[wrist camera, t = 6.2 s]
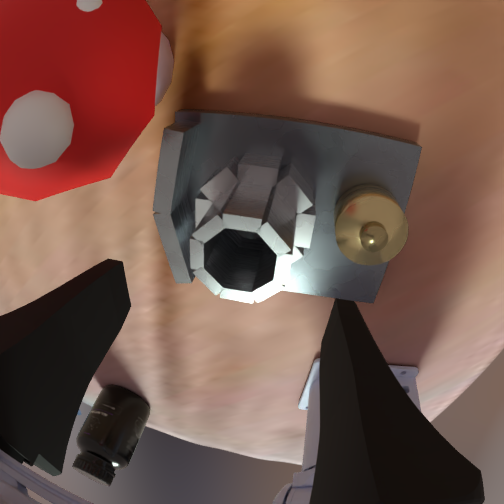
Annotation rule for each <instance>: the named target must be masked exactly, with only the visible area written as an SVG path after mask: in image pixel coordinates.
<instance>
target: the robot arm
mask: <svg viewBox="0 0 504 504" xmlns="http://www.w3.org/2000/svg"><path fill="white" fill-rule="evenodd" d="M130 307H131V302H130V298H129V293H128V288H127V282H126V277H125V271H124V266H123V262H122V261H117V260H112V259H107V260H105V261H103V262H101V263H99V264H97V265H95V266H94V267H92V268H90V269H88V270H87V271H85V272H83V273H82V274H80V275H78V276H77V277H75V278H73V279H71V280H70V281H68V282H66V283H65V284H63V285H61V286H60V287H58V288H56V289H54V290H53V291H51V292H49V293H47V294H45V295H44V296H42V297H40V298H38V299H37V300H35V301H33V302H31V303H29V304H27V305H25V306H23V307H20V308H18V309H16V310H14V311H12V312H9V313H7V314H4V315H2V316H0V504H41V503H39V502H37V501H36V500H34V499H32V498H31V497H29V495H28V493H27V489H26V487H27V488H28V489H30V490H32V491H33V492H35V493H36V494H38V495H39V496H41V497H43V498H44V499H46V500H48V501H49V502H51V503H53V504H93V503H91V502H89V501H87V500H85V499H82V498H80V497H78V496H76V495H74V494H72V493H71V492H68V491H67V490H65V489H63V488H61V487H59V486H57V485H56V484H54V483H52V482H50V481H48V480H47V479H45V478H43V477H42V476H40V475H38V474H36V473H35V472H33V471H32V470H30V469H29V468H27V467H25V466H24V465H22V463H23V461H24V462H25V463H27V464H29V465H30V466H33V465H35V466H37V467H39V468H40V469H42V470H44V471H45V472H47V473H49V474H51V475H52V476H56V475H60V474H61V473H62V469H63V463H64V459H65V454H66V449H67V445H68V441H69V438H70V434H71V431H72V428H73V424H74V421H75V418H76V416H77V413H78V410H79V407H80V404H81V402H82V399H83V397H84V395H85V392H86V390H87V387H88V385H89V383H90V381H91V379H92V377H93V375H94V373H95V372H96V370H97V368H98V367H99V365H100V363H101V362H102V360H103V358H104V357H105V355H106V353H107V352H108V350H109V348H110V347H111V345H112V343H113V342H114V340H115V338H116V337H117V335H118V333H119V332H120V330H121V328H122V326H123V323H124V321H125V319H126V317H127V314H128V312H129V310H130ZM418 372H419V371H418V368H417V367H408V366H394V365H388V364H387V362H386V360H385V359H384V357H383V355H382V353H381V352H380V350H379V348H378V346H377V344H376V342H375V341H374V339H373V337H372V335H371V333H370V331H369V329H368V327H367V325H366V323H365V321H364V319H363V317H362V315H361V313H360V311H359V309H358V307H357V305H356V303H355V302H354V301H352V300H345V299H338V298H336V299H335V302H334V305H333V308H332V311H331V315H330V318H329V321H328V324H327V327H326V330H325V333H324V336H323V339H322V343H321V354H320V358H317V359H315V360H314V363H313V366H312V368H311V371H310V374H309V377H308V379H307V382H306V385H305V388H304V390H303V393H302V396H301V398H300V401H299V403H298V408H299V409H303V410H308V411H307V423H306V434H305V444H304V454H303V463H302V472H298V473H294V476H293V483H289V484H286V485H285V486H284V487H283V488H282V489H281V490H280V492H279V493H278V494H277V495H276V497H275V499H274V501H273V504H482V503H483V502H484V500H485V497H484V488H483V481H482V475H481V471H480V470H479V469H478V468H477V467H475V466H474V465H473V464H472V463H471V462H470V461H468V460H467V459H466V458H465V457H464V456H463V455H461V454H460V453H459V452H458V451H457V450H455V448H454V447H453V446H452V445H451V444H450V443H449V442H448V441H446V439H445V438H444V437H443V436H442V435H441V434H439V432H438V431H437V430H436V429H435V428H434V427H433V425H432V424H431V423H430V422H429V421H428V420H427V419H426V417H425V416H424V415H423V414H422V413H421V408H420V402H419V396H418V390H417V385H416V379H415V377H416V376H417V374H418Z"/></svg>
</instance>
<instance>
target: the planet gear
mask: <svg viewBox="0 0 504 504" xmlns="http://www.w3.org/2000/svg"><path fill="white" fill-rule="evenodd" d="M281 160H282V157H275V156H268V155H260V154H252V153H246V154H245V155H244V156H243V158H242V159H241V161H240V160H239V159H238V158H237V156H235V157H234V158H232V159H231V160H230V161H229V162H227V163H226V164H225V165H224V166H223V167H221V168H220V169H219V170H218V171H216V172H215V173H214V174H213V175H212V176H211V177H210V178H209V179H208V180H207V181H206V182H205V184H204V185H203V186H202V187H201V188H200V190H201V192H200V194H199V195H198V196H197V197H196V198H195V221H196V229H195V230H194V232H193V233H192V236H191V238H190V265H191V269H194V271H193V274H194V275H195V276H196V277H197V278H198V279H199V280H200V281H201V282H203V283H204V284H205V285H206V286H207V287H208V288H209V289H210V290H211V291H212V292H213V293H214V294H215V295H217V294H219V293H220V298H225V299H230V300H236V301H242V302H248V303H253V301H254V300H255V301H256V302H257V303H258V302H260V301H262V300H264V299H266V298H267V297H269V296H271V295H273V294H275V293H277V292H279V291H280V290H282V289H284V288H285V284H286V285H287V283H288V278H289V272H290V267H291V263H293V262H295V261H296V260H298V259H300V258H301V257H303V256H304V248H310V243H311V238H312V233H313V227H314V222H315V217H316V203H315V200H314V199H313V189H312V188H311V187H310V186H309V184H308V183H307V182H306V180H305V179H304V178H303V177H302V175H301V174H300V173H299V172H298V170H297V169H296V168H295V167H294V165H293V164H292V163H291V164H289V165H288V166H286V167H285V168H284V169H282V170H281V171H280V168H281ZM236 230H243V231H250V232H256V233H258V234H259V235H260V236H261V237H259V238H256V239H248V238H245V237H243V236H241V235H240V234H239V233H238V232H237V231H236Z"/></svg>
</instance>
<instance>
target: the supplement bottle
mask: <svg viewBox="0 0 504 504" xmlns="http://www.w3.org/2000/svg"><path fill="white" fill-rule="evenodd" d="M149 415H150V409H149V406H148V405H147V403H146V402H145V401H144V400H143V399H141V398H140V397H139V396H138V395H136V394H134V393H133V392H131V391H129V390H127V389H125V388H122V387H119V386H115V385H108V386H105V387H104V388H103V389H102V391H101V392H100V394H99V396H98V398H97V399H96V401H95V403H94V405H93V407H92V409H91V411H90V412H89V414H88V416H87V418H86V420H85V422H84V424H83V426H82V428H81V430H80V432H79V433H78V436H77V438H76V442H77V446H78V448H79V449H80V451H81V453H80V454H77V456H76V459H75V461H74V463H73V466H72V467H73V468H74V469H75V470H77V471H78V472H79V473H81V474H82V475H84V476H86V477H88V478H89V479H91V480H93V481H95V482H98V483H100V484H103V485H105V486H110V485H111V483H112V480H113V478H114V477H115V475H116V474H115V473H114V471H115V470H120V469H124V468H126V467H127V466H128V464H129V462H130V460H131V458H132V455H133V453H134V451H135V448H136V446H137V444H138V441H139V439H140V436H141V434H142V432H143V429H144V427H145V425H146V422H147V420H148V418H149Z"/></svg>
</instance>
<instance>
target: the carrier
mask: <svg viewBox="0 0 504 504" xmlns="http://www.w3.org/2000/svg"><path fill="white" fill-rule="evenodd" d="M421 148H422V147H421V146H420V145H418V144H417V143H415V142H412V141H408V140H404V139H400V138H395V137H391V136H387V135H383V134H378V133H374V132H369V131H364V130H359V129H354V128H349V127H344V126H338V125H333V124H327V123H321V122H314V121H308V120H301V119H294V118H287V117H279V116H270V115H261V114H251V113H240V112H228V111H213V110H193V109H181V110H178V111H176V112H175V123H174V124H172V125H170V126H168V127H166V128H164V131H163V137H162V144H161V150H160V157H159V164H158V171H157V179H156V187H155V195H154V204H153V211H155V213H154V214H153V216H154V219H155V222H156V225H157V228H158V232H159V235H160V238H161V241H162V244H163V247H164V250H165V253H166V256H167V259H168V262H169V265H170V267H171V270H172V273H173V276H174V279H175V282H176V283H192V281H193V279H194V277H195V275H194V274H193V271H194V269H191V265H190V238H191V236H192V233H193V232H194V230H195V229H196V221H195V198H196V197H197V196H198V195H199V194H200V192H201V190H200V188H201V187H202V186H203V185H204V184H205V182H206V181H207V180H208V179H209V178H210V177H211V176H212V175H213V174H214V173H215V172H216V171H218V170H219V169H220V168H221V167H223V166H224V165H225V164H226V163H227V162H229V161H230V160H231V159H232V158H234V157H235V156H237V158H238V159H239V160H240V161H241V159H242V158H243V156H244V155H245V154H246V153H252V154H260V155H268V156H275V157H282V160H281V168H280V171H281V170H282V169H284V168H285V167H286V166H288V165H289V164H291V163H292V164H293V165H294V167H295V168H296V169H297V170H298V172H299V173H300V174H301V175H302V177H303V178H304V179H305V180H306V182H307V183H308V184H309V186H310V187H311V188H312V189H313V199H314V200H315V203H316V217H315V222H314V227H313V233H312V238H311V243H310V248H304V256H303V257H301V258H300V259H298V260H296V261H295V262H293V263H291V267H290V272H289V278H288V283H287V285H286V284H285V288H284V289H282V290H285V291H291V292H298V293H304V294H311V295H318V296H324V297H331V298H338V299H345V300H352V301H359V302H366V303H374V300H375V298H376V295H377V292H378V290H379V287H380V284H381V282H382V279H383V276H384V274H385V271H386V268H387V265H388V262H389V260H390V259H392V258H394V257H395V256H396V255H397V254H398V253H399V252H400V251H401V250H402V248H403V247H404V245H405V243H406V240H407V237H408V222H407V219H406V217H405V215H404V213H405V209H406V206H407V203H408V199H409V196H410V192H411V188H412V185H413V181H414V177H415V173H416V169H417V165H418V161H419V157H420V153H421ZM236 231H237V232H238V233H239V234H240V235H241V236H243V237H245V238H248V239H256V238H259V237H261V236H260V235H259V234H258V233H256V232H250V231H243V230H236Z"/></svg>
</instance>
